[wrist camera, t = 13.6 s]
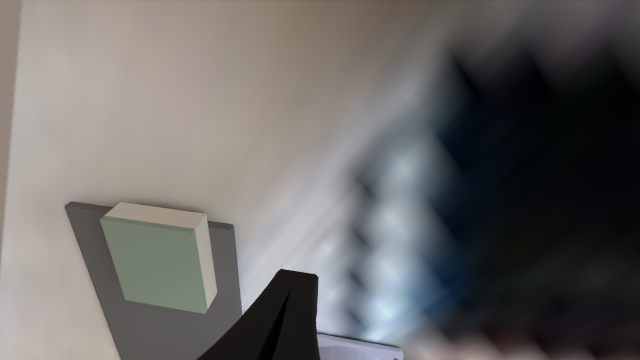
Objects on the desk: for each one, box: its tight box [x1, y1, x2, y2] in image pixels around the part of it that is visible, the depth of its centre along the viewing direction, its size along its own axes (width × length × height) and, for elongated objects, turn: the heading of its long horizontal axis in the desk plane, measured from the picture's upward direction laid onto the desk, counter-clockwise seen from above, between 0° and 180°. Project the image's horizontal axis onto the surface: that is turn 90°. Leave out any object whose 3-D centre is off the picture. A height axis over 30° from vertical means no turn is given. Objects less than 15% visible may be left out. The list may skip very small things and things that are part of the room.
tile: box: [100, 202, 217, 314], centre depth 25 cm, size 7×2×6 cm
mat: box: [65, 202, 242, 360], centre depth 30 cm, size 20×12×1 cm, turn 177°
